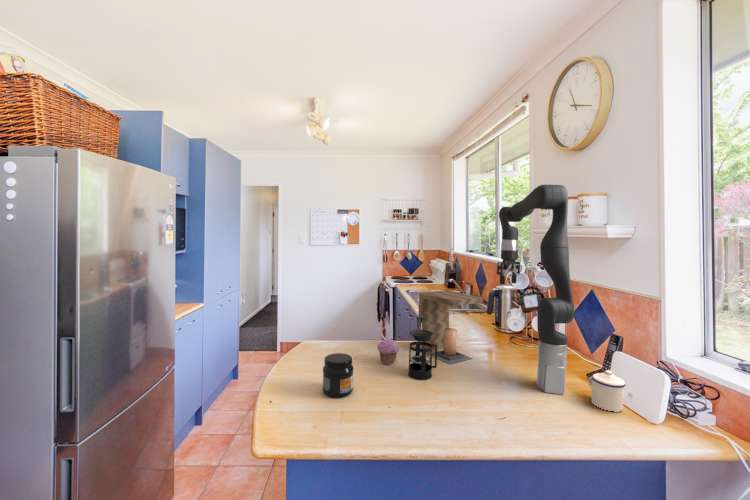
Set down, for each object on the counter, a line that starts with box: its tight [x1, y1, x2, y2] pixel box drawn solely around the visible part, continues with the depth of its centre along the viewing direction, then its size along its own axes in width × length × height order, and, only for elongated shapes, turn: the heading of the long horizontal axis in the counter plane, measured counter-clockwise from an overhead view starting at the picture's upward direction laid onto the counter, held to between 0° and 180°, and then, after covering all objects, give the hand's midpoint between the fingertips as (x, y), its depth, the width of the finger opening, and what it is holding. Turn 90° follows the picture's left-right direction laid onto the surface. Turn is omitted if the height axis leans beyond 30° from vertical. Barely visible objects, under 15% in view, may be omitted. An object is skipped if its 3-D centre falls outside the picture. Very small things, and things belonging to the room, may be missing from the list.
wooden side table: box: [417, 290, 484, 354], centre depth 153 cm, size 18×22×28 cm
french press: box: [407, 316, 438, 381], centre depth 132 cm, size 12×9×23 cm
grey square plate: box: [427, 349, 473, 365], centre depth 153 cm, size 14×14×2 cm
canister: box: [443, 327, 458, 357], centre depth 153 cm, size 6×6×12 cm
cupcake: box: [377, 339, 399, 366], centre depth 144 cm, size 9×9×10 cm
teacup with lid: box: [587, 369, 626, 413], centre depth 112 cm, size 12×9×12 cm
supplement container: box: [322, 352, 355, 399], centre depth 116 cm, size 10×10×12 cm
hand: (508, 283), depth 159 cm, fingers open, 8 cm apart
